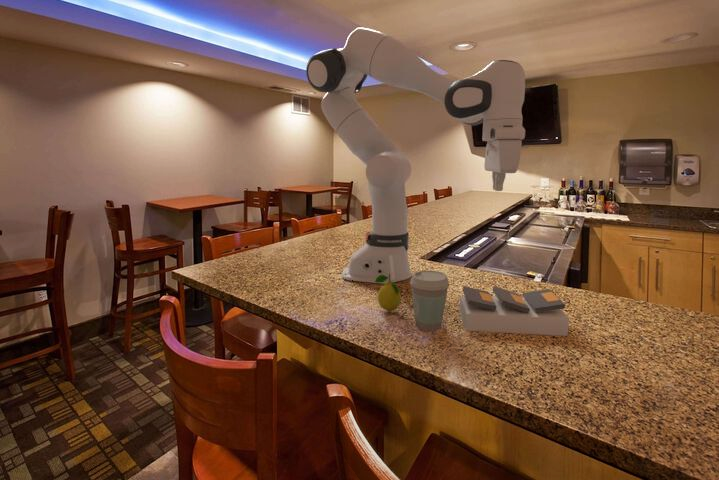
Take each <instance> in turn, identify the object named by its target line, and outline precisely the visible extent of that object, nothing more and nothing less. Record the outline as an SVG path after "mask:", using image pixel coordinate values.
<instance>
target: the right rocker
mask: <svg viewBox="0 0 719 480" xmlns="http://www.w3.org/2000/svg"><path fill="white" fill-rule="evenodd" d="M522 298H525V300H526V301H527V302H528V304H529V305H530V306H531V307H532V309H533V310H534V311H535V312H543V311H550V310H557V309H561V310H562V309H564V310H565V309H566V304H565V303H564V302H563V301H562V300H561V299H560V298H559V296H557V295H556V294H555V293H554V292H553V291H552V290H551V289H550V288H547V289H540V290H534V291H528V292H527V291H526V292H522Z"/></svg>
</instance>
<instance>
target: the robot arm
mask: <svg viewBox="0 0 719 480" xmlns="http://www.w3.org/2000/svg"><path fill="white" fill-rule="evenodd" d="M305 71H306V78H307V81H308V83H309V85H310V86H311V88H313V89H314V90H315V91H318V92H321V93H326V94H324V96H322V99H321V101H320V102H321V103H320V108H321V111H322V113H323V115H324V117H325V119H326V120H327V122H328V124H329V125H330V126H331V128H332V129H333V130H334V132H335V133H336V134H337V136H338V137H339V138H340V139H341V141H342V142H343V143H344V144H345V146H346V147H347V148H348V150H349V151H350V152H351V153H352V154H353V155H355V156H356V157H357V158H358V159H359V160H361V161H362V163H364V165H365V166H366V167H365V176H366V179H367V182H368V191H369V196H370V200H371V201H370V202H371V211H372V212H371V213H372V215H371V217H372V218H371V220H372V223H371V224H372V227H371V228H372V229H371V230H368V231H367V232H366V233H365V244H364V245H362V246H361V247H360V248H358V249H357V250H356V251H355V252H354V253H352V254H351V257H350V260H349V263H348V266H347V267H345V268H344V269H343V270H342V273H341V274H342V275H341V276H342V277H341V278H342V279H343V278H344V279H343V280H345V279H346V280H345V281H352V280H353V282H363V283H371V284H372V283H374V284H378V283H377V282H375V281H376V279H377V277H378V276H380V275H384V276H386V277H388V279H387V281H384V282H380V283H379V284H381V285H382V284H383V285H384V284H387V283H388V282H389V274H390V282H393V283H397V282H401V281H405V280H408V279H410V278H412V276H413V274H412V271H411V267H410V266H411V265H410V261H409V253H408V250H409V244H410V235H409V232H408V205H407V197H406V196H407V195H406V186H405V185H406V183H407V181H408V180H410V177H411V174H412V165H411V162H410V160H409V159H408V157H407V156H406V155H405V154H404V153H403V152H402V151H401V149H399V147H398V146H397V145H396V144H395V143H394V142H393V141H392V139H390V138H389V137H388V136H387V134H385V133H384V132H383V131H382V129H381V128H380V127H379V126H378V125H377V124H376V123H377V122H375V121H374V119H373V118H372V117H371V115H369V114H368V112H367V111H366V110H365V109H364V107H363V106H362V105H361V104H360V102H359V101H358V100H357V98H356V95H355V94H357V93H359V92H361V89H362V87H363V84H364V83H365V81H366V80H367V77H370V78H372V79H374V80H375V81H378V82H380V83H382V84H385V85H389V86H392V87H395V88H400V89H404V90H408V91H413V92H417V93H420V94H423V95H426V96H427V97H429V98H432V99H433V100H435V101H437V102H439V103H441V104H443V105H444V108H445V110H446V112H447V113H448V115H450V116H451V117H452V118H454V119H455V120H457V121H460V122H462V123H463V124H465V125H467V126H479V125H481V124H482V138H481V139H482V142H486V147H485V156H484V166H483V167H484V171H487V172H492V173H491V177H492V190H493V191H495V192H502V191H503V190H504V183H505V179H506V175H507V174H515V173H517V171H518V169H519V165H520V161H521V159H520V158H521V152H522V144H523V143H522V140H524V139H525V137H526V129H525V127H524V126H523V120H524V119H523V114H522V108H523V105H524V103H525V94H526V73H525V69H524V67H523V66H522V65H521V64H520V63H519V62H517V61H514V60H509V59H508V60H507V59H498V60H494V61H490V63H489V64H488V65H487V66H486V67H484V68H483V69H481V70H480V71H478V72H476V73H475V74H471V75H470V76H468V77H464V78H462V79H461V78H460V79H458V80H452V79H450V78H449V77H447V76H445V75H442V74H441V73H439V72H437V71H435V70H434V69H432V68H431V67H430V66H429V65H427V64H426V63H425V62H424V60H422V59H421V58H420V57H419V56H418V55H417V54H416V53H415V52H414V51H413V50H412V49H411V48H409V47H408V46H407V45H406V44H404V43H403V42H402V41H400V40H398V39H396V38H394V37H393V36H391V35H389V34H387V33H384V32H381V31H378V30H375V29H371V28H367V27H366V28H365V27H357V28H356V29H354V30H353V31H351V32H350V34H349V35H348V37H347V40H346V42H345V45H344V47H342V48H341V47H340V48H335V47H334V48H330V49H325V50H321V51H319V52H317V53H315V54H313V55H312V56H311V57H310V58H309V59H308V61H307V63H306V70H305Z"/></svg>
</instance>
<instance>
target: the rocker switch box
mask: <svg viewBox="0 0 719 480" xmlns="http://www.w3.org/2000/svg"><path fill="white" fill-rule="evenodd" d="M491 297H492V299H493V301H494V303H495V305H496V306H497V307H496V310H495V311H494V310H490V309H486V308H482V307H477V306H473V305H469V304H468V303H467V300H466V298H465V295H464V294H463V295H462V294H461V295H459V308H458V309H459V313H460V314H459V315H460V317H461V321H462V324H463V327H464V331H468V332H487V333H506V334H510V333H511V334H524V335H545V336H562V337H564V336H565V337H567V336H568V333H569V326H570V317H569V316H568V315H567V314H566V313H565V312H564V311H563V310H562V309H557V310H550V311H543V312H535V311H534V310H533V309H532V307H531V306H530V305H529V304H528V302H527V301H526V300H525V298H524V297H521V298H522V299H523V301H524V302H525V303H526V305H527V306H528V307H529V308H530V311H529V313H526V312H523V311H520V310H517V309H514V308H511V307H508V306H505V305H502V304H501V303H500V301H499V300H498V298H497V296H491Z"/></svg>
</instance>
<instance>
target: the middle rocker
mask: <svg viewBox="0 0 719 480" xmlns="http://www.w3.org/2000/svg"><path fill="white" fill-rule="evenodd" d="M492 291H493V293H494V295H495V297H497V298H498V300H499V301H500V303H501V304H502V305H505V306H508V307H511V308H514V309H517V310H520V311H523V312H526V313H529V311H530V308H529V307H528V306H527V305H526V303H525V302H524V301H523V299H522V298H523V297H522V296H521V295H520V294H519V293H517V292H513V291H510V290H507V289H504V288H502V287H499V286H495V285H493V287H492Z"/></svg>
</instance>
